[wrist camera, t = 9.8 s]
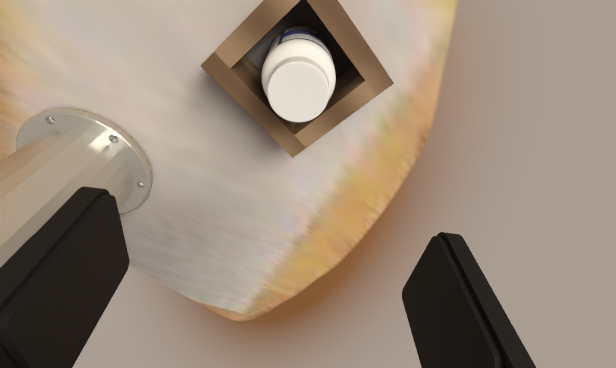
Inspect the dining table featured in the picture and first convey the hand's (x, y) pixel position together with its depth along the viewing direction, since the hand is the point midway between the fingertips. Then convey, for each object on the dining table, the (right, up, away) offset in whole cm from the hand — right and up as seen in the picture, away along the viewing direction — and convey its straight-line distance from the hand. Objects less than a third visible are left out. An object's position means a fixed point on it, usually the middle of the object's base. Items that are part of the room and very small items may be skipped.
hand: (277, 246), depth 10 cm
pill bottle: (0, +13, +18) cm, 22 cm away
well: (0, +13, +18) cm, 22 cm away
